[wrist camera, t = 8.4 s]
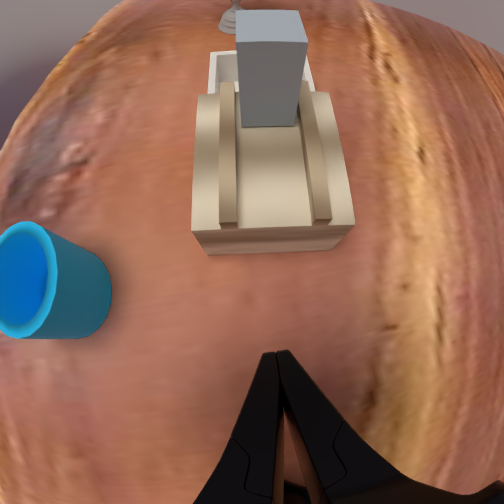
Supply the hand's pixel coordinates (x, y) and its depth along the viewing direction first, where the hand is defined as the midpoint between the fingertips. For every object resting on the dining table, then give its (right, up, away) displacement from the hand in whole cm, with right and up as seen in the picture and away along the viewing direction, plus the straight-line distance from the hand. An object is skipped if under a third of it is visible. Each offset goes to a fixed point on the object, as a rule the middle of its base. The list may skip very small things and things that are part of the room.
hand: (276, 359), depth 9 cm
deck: (0, +9, +16) cm, 18 cm away
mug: (-19, 0, +15) cm, 24 cm away
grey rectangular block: (0, +14, +10) cm, 17 cm away
